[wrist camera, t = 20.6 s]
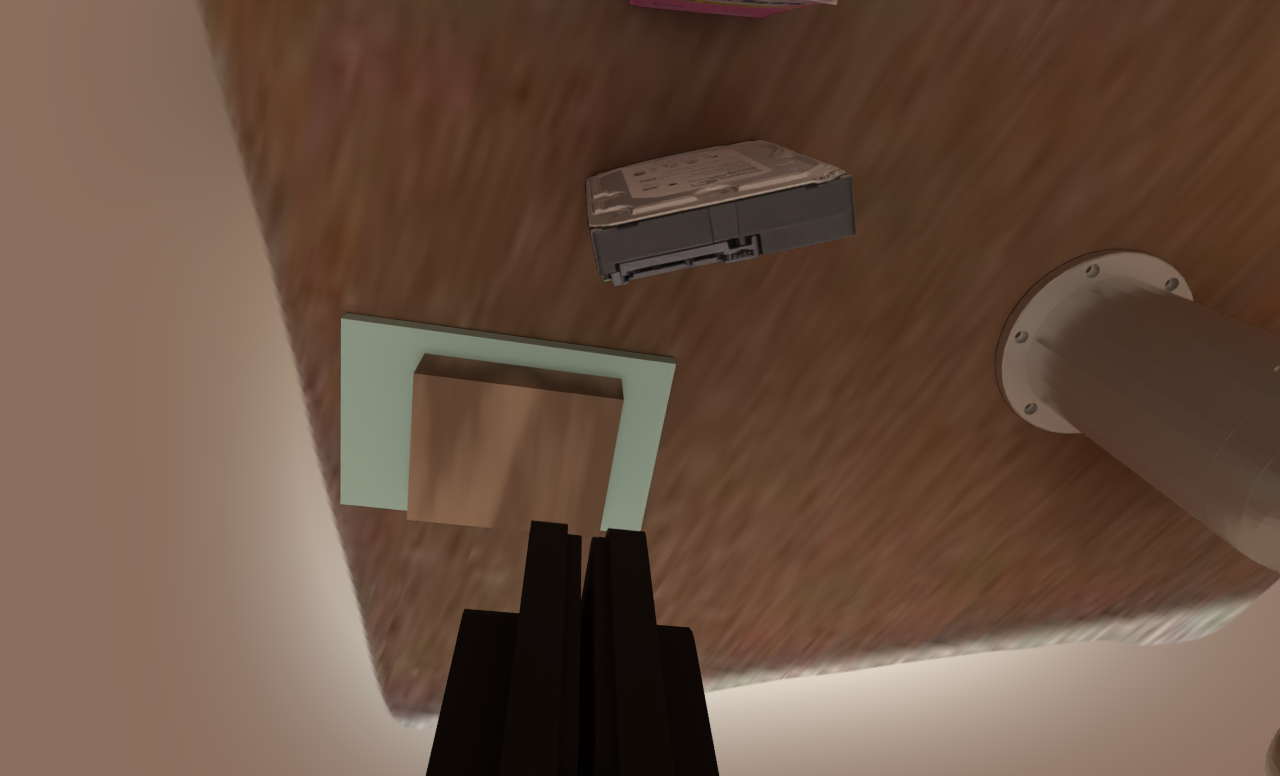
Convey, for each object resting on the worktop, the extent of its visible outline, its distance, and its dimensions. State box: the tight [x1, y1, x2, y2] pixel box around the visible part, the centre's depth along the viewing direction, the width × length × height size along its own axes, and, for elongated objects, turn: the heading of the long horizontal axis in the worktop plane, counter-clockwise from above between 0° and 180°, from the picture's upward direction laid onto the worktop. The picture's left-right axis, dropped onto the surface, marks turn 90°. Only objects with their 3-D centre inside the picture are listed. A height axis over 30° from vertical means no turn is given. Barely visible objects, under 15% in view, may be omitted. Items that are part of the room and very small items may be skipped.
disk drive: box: [585, 140, 856, 286], centre depth 33 cm, size 10×3×15 cm, turn 101°
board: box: [407, 353, 624, 538], centre depth 44 cm, size 3×10×12 cm
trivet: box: [341, 313, 676, 531], centre depth 46 cm, size 20×13×1 cm, turn 80°
